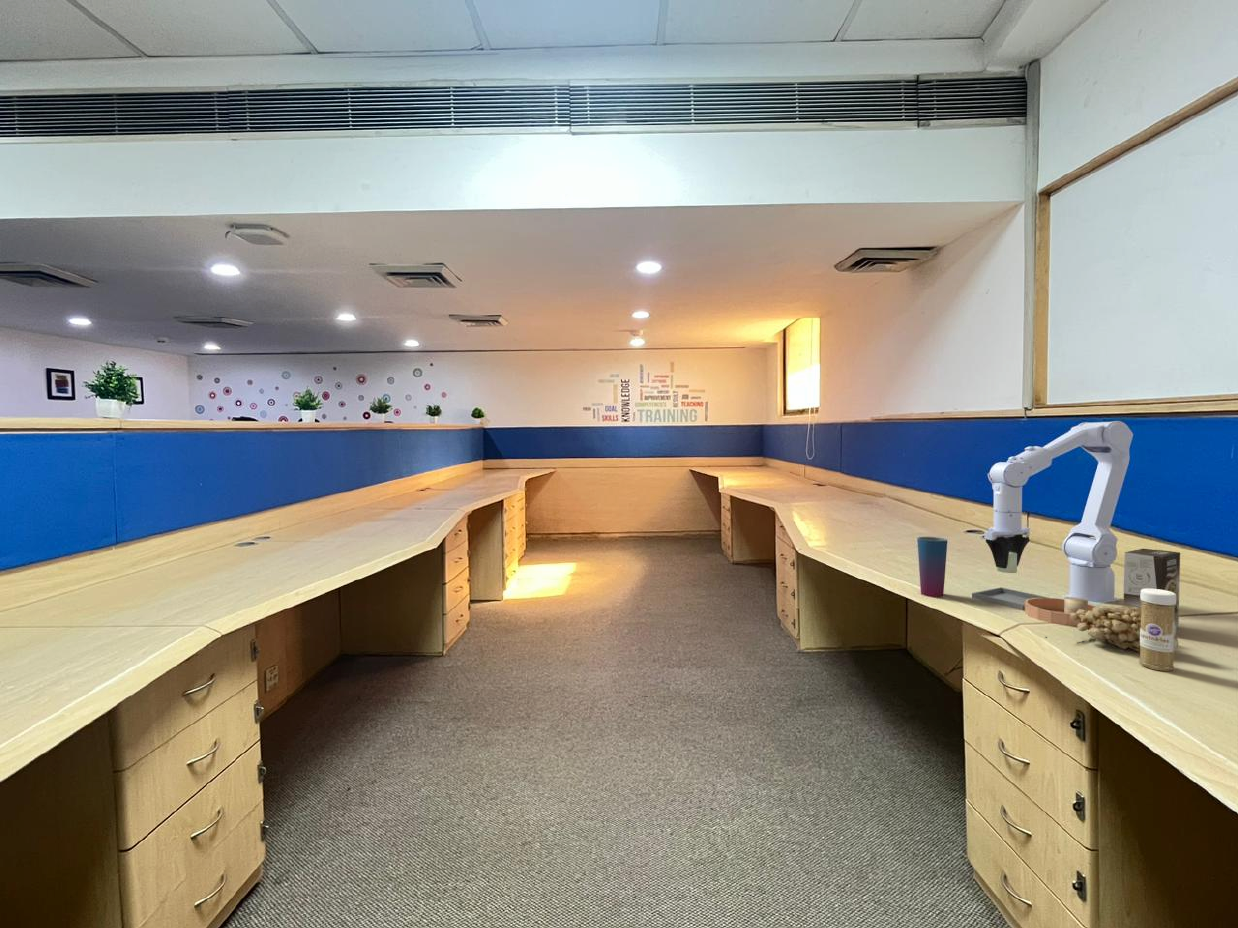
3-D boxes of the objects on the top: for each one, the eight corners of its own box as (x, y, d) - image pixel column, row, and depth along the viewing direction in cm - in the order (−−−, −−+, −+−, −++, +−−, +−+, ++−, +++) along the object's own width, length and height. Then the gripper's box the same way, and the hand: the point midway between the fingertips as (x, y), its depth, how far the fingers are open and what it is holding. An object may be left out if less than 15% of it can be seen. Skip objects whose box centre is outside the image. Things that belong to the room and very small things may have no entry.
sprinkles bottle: (1139, 667, 100) (1141, 591, 99) (1138, 659, 103) (1139, 586, 103) (1176, 674, 97) (1177, 595, 97) (1173, 665, 100) (1175, 590, 100)
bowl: (1046, 607, 136) (1046, 595, 136) (1113, 623, 124) (1114, 609, 124) (1012, 615, 130) (1012, 602, 130) (1079, 632, 118) (1079, 618, 118)
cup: (951, 600, 143) (951, 541, 142) (921, 599, 144) (922, 540, 143) (941, 593, 149) (942, 536, 149) (913, 592, 151) (913, 536, 150)
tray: (1000, 594, 148) (1000, 587, 148) (1052, 605, 137) (1052, 598, 137) (971, 600, 143) (971, 592, 143) (1022, 612, 132) (1023, 604, 132)
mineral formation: (1186, 661, 102) (1083, 647, 107) (1147, 648, 115) (1057, 636, 120) (1186, 616, 103) (1084, 603, 108) (1148, 608, 115) (1058, 597, 121)
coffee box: (1161, 635, 116) (1162, 556, 115) (1121, 626, 121) (1122, 551, 121) (1180, 628, 120) (1182, 551, 119) (1141, 619, 126) (1142, 547, 125)
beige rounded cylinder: (1070, 616, 127) (1070, 596, 127) (1091, 621, 123) (1092, 600, 123) (1060, 618, 125) (1060, 598, 125) (1080, 623, 122) (1081, 602, 122)
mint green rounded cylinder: (1003, 568, 143) (1003, 550, 143) (1020, 571, 139) (1020, 553, 139) (993, 570, 141) (993, 552, 141) (1010, 573, 137) (1010, 555, 137)
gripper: (1009, 507, 146) (1008, 560, 147) (972, 511, 140) (971, 566, 141) (1039, 510, 140) (1038, 565, 140) (1001, 514, 134) (1001, 572, 134)
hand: (1007, 566), depth 140 cm, fingers closed on mint green rounded cylinder, 4 cm apart
